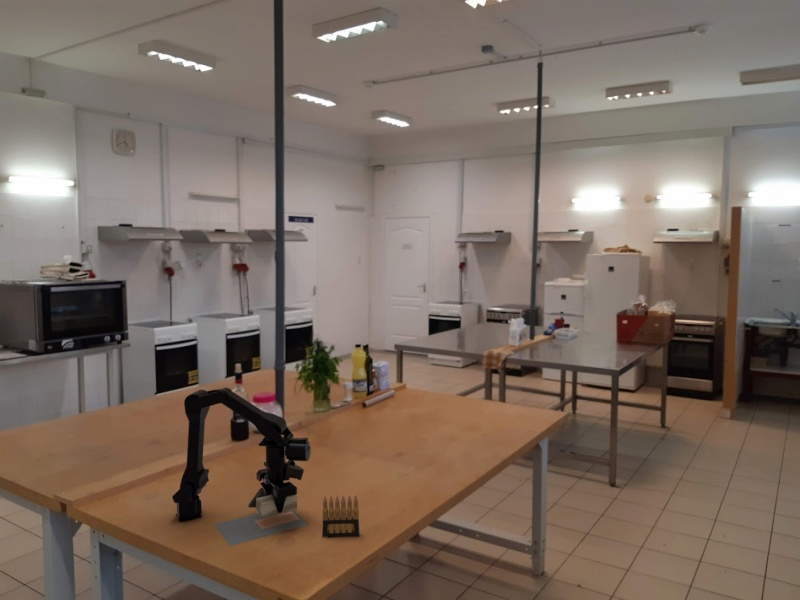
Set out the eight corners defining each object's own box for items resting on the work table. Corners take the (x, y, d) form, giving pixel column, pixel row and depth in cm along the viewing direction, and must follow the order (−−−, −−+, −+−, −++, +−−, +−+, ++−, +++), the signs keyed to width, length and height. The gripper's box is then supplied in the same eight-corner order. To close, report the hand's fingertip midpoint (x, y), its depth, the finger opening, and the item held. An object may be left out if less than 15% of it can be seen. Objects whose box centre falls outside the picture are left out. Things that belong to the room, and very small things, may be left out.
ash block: (297, 510, 186) (296, 496, 185) (262, 518, 180) (262, 504, 179) (290, 504, 190) (290, 490, 190) (256, 512, 184) (256, 498, 184)
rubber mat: (230, 547, 169) (230, 545, 169) (213, 525, 183) (213, 524, 183) (309, 525, 182) (309, 524, 182) (288, 506, 196) (288, 505, 196)
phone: (283, 487, 209) (271, 506, 194) (283, 491, 209) (271, 509, 194) (260, 487, 209) (247, 505, 195) (260, 490, 210) (247, 509, 195)
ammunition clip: (322, 537, 174) (321, 497, 173) (322, 534, 176) (321, 494, 175) (359, 536, 175) (358, 496, 174) (359, 533, 177) (358, 493, 176)
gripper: (312, 463, 180) (313, 514, 181) (288, 446, 196) (289, 493, 197) (277, 471, 174) (278, 523, 175) (255, 452, 190) (256, 501, 191)
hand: (276, 509), depth 185 cm, fingers closed on ash block, 5 cm apart
